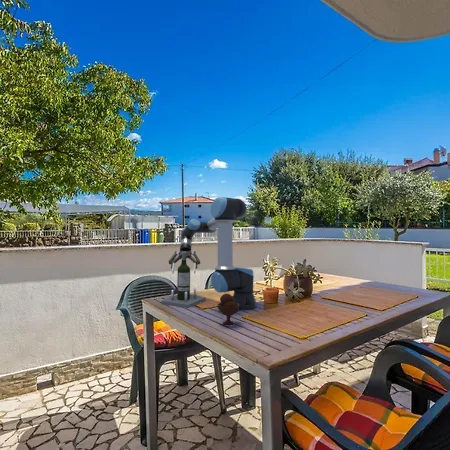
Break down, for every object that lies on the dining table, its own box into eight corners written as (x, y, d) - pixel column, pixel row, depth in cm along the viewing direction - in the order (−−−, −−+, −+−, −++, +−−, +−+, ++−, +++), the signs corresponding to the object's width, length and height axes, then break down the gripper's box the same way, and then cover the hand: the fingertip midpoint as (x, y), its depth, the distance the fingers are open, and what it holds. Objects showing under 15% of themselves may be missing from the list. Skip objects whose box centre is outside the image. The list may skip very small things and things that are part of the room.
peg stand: (205, 300, 188) (205, 288, 188) (188, 308, 170) (188, 294, 170) (180, 297, 196) (180, 285, 197) (161, 303, 179) (161, 290, 179)
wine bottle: (179, 300, 178) (179, 252, 179) (175, 298, 185) (176, 251, 186) (191, 299, 181) (191, 251, 182) (187, 297, 189) (188, 250, 189)
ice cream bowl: (237, 328, 136) (238, 296, 136) (214, 326, 138) (215, 295, 138) (241, 321, 146) (241, 291, 147) (219, 319, 149) (219, 290, 149)
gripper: (204, 250, 200) (203, 275, 185) (167, 250, 199) (164, 275, 184) (204, 243, 195) (203, 268, 180) (166, 243, 194) (163, 268, 179)
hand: (183, 272), depth 182 cm, fingers open, 13 cm apart
